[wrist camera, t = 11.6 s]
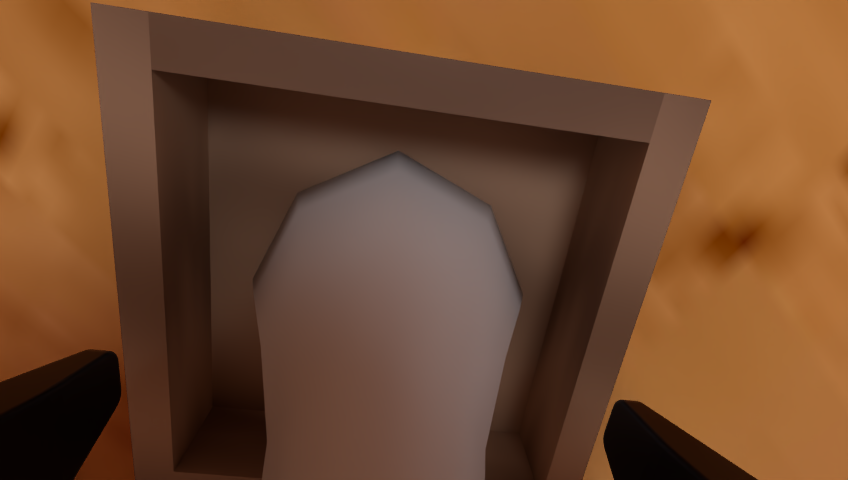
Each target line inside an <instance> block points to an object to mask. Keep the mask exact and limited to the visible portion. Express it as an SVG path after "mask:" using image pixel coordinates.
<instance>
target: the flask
mask: <svg viewBox="0 0 848 480" xmlns="http://www.w3.org/2000/svg"><path fill="white" fill-rule="evenodd" d="M253 294H254V302H255V309H256V316H257V323H258V330H259V337H260V345H261V357H262V372H263V387H264V402H265V417H266V432H267V447H266V454H265V461H264V468H263V475H262V480H485V449H486V445H487V440H488V435H489V431H490V426H491V422H492V417H493V413H494V408H495V404H496V399H497V395H498V390H499V385H500V381H501V376H502V372H503V367H504V363H505V358H506V355H507V351H508V348H509V345H510V341H511V338H512V334H513V331H514V328H515V324H516V321H517V317H518V314H519V311H520V306H521V302H522V297H523V292H522V290H521V287H520V284H519V281H518V279H517V276H516V273H515V270H514V268H513V265H512V262H511V259H510V257H509V254H508V251H507V248H506V246H505V243H504V240H503V237H502V235H501V232H500V229H499V226H498V224H497V221H496V218H495V215H494V212H493V210H492V207H491V205H489V204H487V203H486V202H484V201H482V200H481V199H479V198H477V197H476V196H474V195H472V194H471V193H469V192H467V191H466V190H464V189H462V188H461V187H459V186H457V185H456V184H454V183H452V182H451V181H449V180H447V179H446V178H444V177H442V176H440V175H439V174H437V173H435V172H434V171H432V170H430V169H429V168H427V167H425V166H424V165H422V164H420V163H419V162H417V161H415V160H414V159H412V158H410V157H409V156H407V155H405V154H404V153H402V152H400V151H396V152H394V153H391V154H389V155H387V156H384V157H382V158H379V159H377V160H375V161H372V162H370V163H367V164H365V165H363V166H360V167H358V168H355V169H353V170H351V171H348V172H346V173H343V174H341V175H339V176H336V177H334V178H331V179H329V180H327V181H324V182H322V183H319V184H317V185H314V186H312V187H310V188H307V189H305V190H302V191H300V192H298V193H297V195H296V197H295V199H294V201H293V203H292V204H291V206H290V208H289V210H288V212H287V214H286V216H285V218H284V220H283V222H282V224H281V225H280V227H279V229H278V231H277V233H276V235H275V237H274V239H273V241H272V243H271V245H270V246H269V248H268V250H267V252H266V254H265V256H264V258H263V260H262V262H261V264H260V266H259V267H258V269H257V271H256V273H255V275H254V277H253Z"/></svg>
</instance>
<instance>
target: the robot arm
mask: <svg viewBox="0 0 848 480" xmlns="http://www.w3.org/2000/svg"><path fill="white" fill-rule="evenodd" d="M120 397H121V383H120V373H119V363H118V357H117V355H116V354H115V353H114V352H112V351H104V350H93V349H90V350H85V351H82V352H79V353H77V354H74V355H71V356H69V357H66V358H63V359H61V360H58V361H55V362H53V363H50V364H47V365H45V366H42V367H39V368H37V369H34V370H31V371H29V372H26V373H23V374H21V375H18V376H15V377H13V378H10V379H7V380H5V381H2V382H0V480H73V479H74V478H75V476H76V474H77V473H78V471H79V469H80V468H81V466H82V464H83V463H84V461H85V459H86V458H87V456H88V454H89V453H90V451H91V449H92V447H93V446H94V444H95V442H96V441H97V439H98V437H99V436H100V434H101V432H102V431H103V429H104V427H105V426H106V424H107V422H108V421H109V419H110V417H111V416H112V414H113V412H114V411H115V409H116V407H117V405H118V403H119V400H120ZM603 441H604V448H605V451H606V455H607V458H608V461H609V465H610V468H611V471H612V474H613V478H614V480H758V479H756V478H755V477H753V476H752V475H750V474H748V473H747V472H745V471H744V470H742V469H741V468H739V467H738V466H736V465H735V464H733V463H732V462H730V461H729V460H727V459H726V458H724V457H723V456H721V455H720V454H718V453H717V452H715V451H714V450H712V449H711V448H709V447H708V446H706V445H705V444H703V443H702V442H700V441H699V440H697V439H696V438H694V437H693V436H691V435H690V434H688V433H687V432H685V431H684V430H682V429H681V428H679V427H678V426H676V425H675V424H673V423H672V422H670V421H669V420H667V419H666V418H664V417H663V416H661V415H659V414H658V413H656V412H655V411H653V410H652V409H650V408H649V407H647V406H646V405H644V404H643V403H641V402H638V401H630V400H619V401H617V402H616V403H615V404H614V406H613V409H612V412H611V415H610V418H609V421H608V423H607V426H606V429H605V432H604V438H603Z"/></svg>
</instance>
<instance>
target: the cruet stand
mask: <svg viewBox="0 0 848 480" xmlns="http://www.w3.org/2000/svg"><path fill="white" fill-rule="evenodd" d="M91 13H92V23H93V34H94V45H95V55H96V66H97V77H98V88H99V98H100V109H101V120H102V130H103V141H104V152H105V163H106V173H107V184H108V195H109V206H110V216H111V227H112V238H113V248H114V259H115V270H116V281H117V291H118V302H119V313H120V323H121V334H122V345H123V356H124V366H125V377H126V388H127V399H128V409H129V420H130V431H131V441H132V452H133V463H134V474H135V480H262V475H263V468H264V461H265V454H266V447H267V432H266V417H265V402H264V387H263V372H262V357H261V345H260V337H259V330H258V323H257V316H256V309H255V302H254V294H253V277H254V275H255V273H256V271H257V269H258V267H259V266H260V264H261V262H262V260H263V258H264V256H265V254H266V252H267V250H268V248H269V246H270V245H271V243H272V241H273V239H274V237H275V235H276V233H277V231H278V229H279V227H280V225H281V224H282V222H283V220H284V218H285V216H286V214H287V212H288V210H289V208H290V206H291V204H292V203H293V201H294V199H295V197H296V195H297V193H298V192H300V191H302V190H305V189H307V188H310V187H312V186H314V185H317V184H319V183H322V182H324V181H327V180H329V179H331V178H334V177H336V176H339V175H341V174H343V173H346V172H348V171H351V170H353V169H355V168H358V167H360V166H363V165H365V164H367V163H370V162H372V161H375V160H377V159H379V158H382V157H384V156H387V155H389V154H391V153H394V152H396V151H400V152H402V153H404V154H405V155H407V156H409V157H410V158H412V159H414V160H415V161H417V162H419V163H420V164H422V165H424V166H425V167H427V168H429V169H430V170H432V171H434V172H435V173H437V174H439V175H440V176H442V177H444V178H446V179H447V180H449V181H451V182H452V183H454V184H456V185H457V186H459V187H461V188H462V189H464V190H466V191H467V192H469V193H471V194H472V195H474V196H476V197H477V198H479V199H481V200H482V201H484V202H486V203H487V204H489V205H491V207H492V210H493V212H494V215H495V218H496V221H497V224H498V226H499V229H500V232H501V235H502V237H503V240H504V243H505V246H506V248H507V251H508V254H509V257H510V259H511V262H512V265H513V268H514V270H515V273H516V276H517V279H518V281H519V284H520V287H521V290H522V292H523V297H522V302H521V306H520V311H519V314H518V317H517V321H516V324H515V328H514V331H513V334H512V338H511V341H510V345H509V348H508V351H507V355H506V358H505V363H504V367H503V372H502V376H501V381H500V385H499V390H498V395H497V399H496V404H495V408H494V413H493V417H492V422H491V426H490V431H489V435H488V440H487V445H486V449H485V480H582V479H583V476H584V473H585V470H586V467H587V464H588V461H589V458H590V455H591V452H592V449H593V446H594V443H595V441H596V438H597V435H598V432H599V429H600V426H601V423H602V420H603V417H604V414H605V411H606V408H607V405H608V402H609V399H610V396H611V394H612V391H613V388H614V385H615V382H616V379H617V376H618V373H619V370H620V367H621V364H622V361H623V358H624V355H625V352H626V350H627V347H628V344H629V341H630V338H631V335H632V332H633V329H634V326H635V323H636V320H637V317H638V314H639V311H640V308H641V306H642V303H643V300H644V297H645V294H646V291H647V288H648V285H649V282H650V279H651V276H652V273H653V270H654V267H655V264H656V261H657V259H658V256H659V253H660V250H661V247H662V244H663V241H664V238H665V235H666V232H667V229H668V226H669V223H670V220H671V217H672V215H673V212H674V209H675V206H676V203H677V200H678V197H679V194H680V191H681V188H682V185H683V182H684V179H685V176H686V173H687V170H688V168H689V165H690V162H691V159H692V156H693V153H694V150H695V147H696V144H697V141H698V138H699V135H700V132H701V129H702V126H703V124H704V121H705V118H706V115H707V112H708V109H709V106H710V103H711V100H706V99H699V98H693V97H687V96H680V95H674V94H668V93H661V92H655V91H649V90H642V89H636V88H630V87H623V86H617V85H611V84H604V83H598V82H592V81H585V80H579V79H573V78H566V77H560V76H554V75H547V74H541V73H535V72H528V71H522V70H515V69H509V68H503V67H496V66H490V65H484V64H477V63H471V62H465V61H458V60H452V59H446V58H439V57H433V56H427V55H420V54H414V53H408V52H401V51H395V50H389V49H382V48H376V47H370V46H363V45H357V44H351V43H344V42H338V41H332V40H325V39H319V38H313V37H306V36H300V35H294V34H287V33H281V32H275V31H268V30H262V29H256V28H249V27H243V26H237V25H230V24H224V23H218V22H211V21H205V20H199V19H192V18H186V17H180V16H173V15H167V14H161V13H154V12H148V11H142V10H135V9H129V8H123V7H116V6H110V5H104V4H97V3H91Z"/></svg>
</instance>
